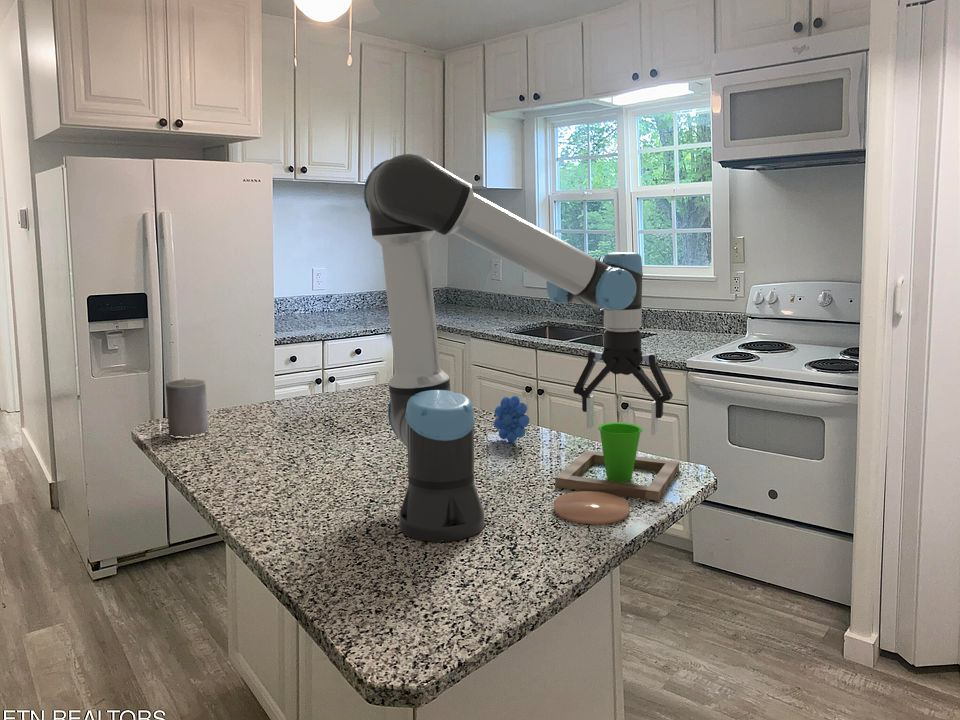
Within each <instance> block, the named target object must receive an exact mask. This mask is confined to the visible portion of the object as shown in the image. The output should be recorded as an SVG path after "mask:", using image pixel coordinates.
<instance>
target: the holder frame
mask: <svg viewBox="0 0 960 720" xmlns="http://www.w3.org/2000/svg"><path fill="white" fill-rule="evenodd" d="M593 464H596V465H597V464H598V465H604V466H605V462H604V455H603V451H602V452H601V451H594V450H585V451H584V452H583V453H581V454H580V455H579V456H578V457H577V458H575V460H573V461H572V462H571V463H570V464H569V465H568V466H566V467H565V468H564V469H563V470H562V471H561V472H560V473H558V475H556V476H555V477H554V487H555V488H559V489H566V490H573V489H574V490H575V491H579V492H580V491H594V492H603V493H608V494H612V495H616V496H618V497H621V498H624V497H625V498H629V497H631V498H630V499H636V498H640V499H639V500H643V499H647V500H646V501H650V500H655V501H654V502H657V501H658V502H659V501H660V500H661V498H662V497H663V496H664V494H665V493H666V491H667V489H668V488H669V486H670V485H671V484H672V482H673V480H674V479H675V477H676V476H677V474H678V473H679V471H680V461H678V460H671V459H669V460H668V459H662V458H652V457H643V456H638V455H636V458H635V463H634V468H633V469H636V470H644V471H645V470H646V471H653V472H658V473H657V474H656V476H655V477H654V478H653V480H651V482H650V483H649V485H643V484H636V483H630V482H629V483H628V482H615V481H610V480H608V479H607V480H606V479H601V478H600V479H599V478H598V479H597V478H592V477H585V476H583V477H582V474H584V473H585V472H586V471H587V470H588V469H589V468H590V467H591V466H592V465H593ZM677 472H678V473H677ZM676 473H677V474H676ZM675 475H676V476H675ZM673 478H674V479H673ZM671 481H672V482H671ZM669 484H670V485H669ZM667 487H668V488H667ZM666 488H667V489H666ZM665 490H666V491H665ZM663 493H664V494H663ZM661 496H662V497H661ZM632 497H633V498H632ZM659 499H660V500H659Z"/></svg>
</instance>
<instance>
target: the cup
mask: <svg viewBox="0 0 960 720" xmlns="http://www.w3.org/2000/svg"><path fill="white" fill-rule="evenodd" d="M597 430H599V432H600V439H601V446H602V452H603V455H604V462H605V465H604V467H605V476H606V478H607V481H615V482H622V483H628V482H630V481H631V480H632V477H633V473H634V469H635V468H634V463H635V458H636V456H637V453H638V452H637V451H638V447H639V442H640V441H639V440H640V437H641V433H642V432H643V429H642V427H641V426H640V425H637V424H634V423H629V422H607V423H603V424H601V425H598V429H597ZM629 480H630V481H629ZM627 481H628V482H627Z"/></svg>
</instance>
